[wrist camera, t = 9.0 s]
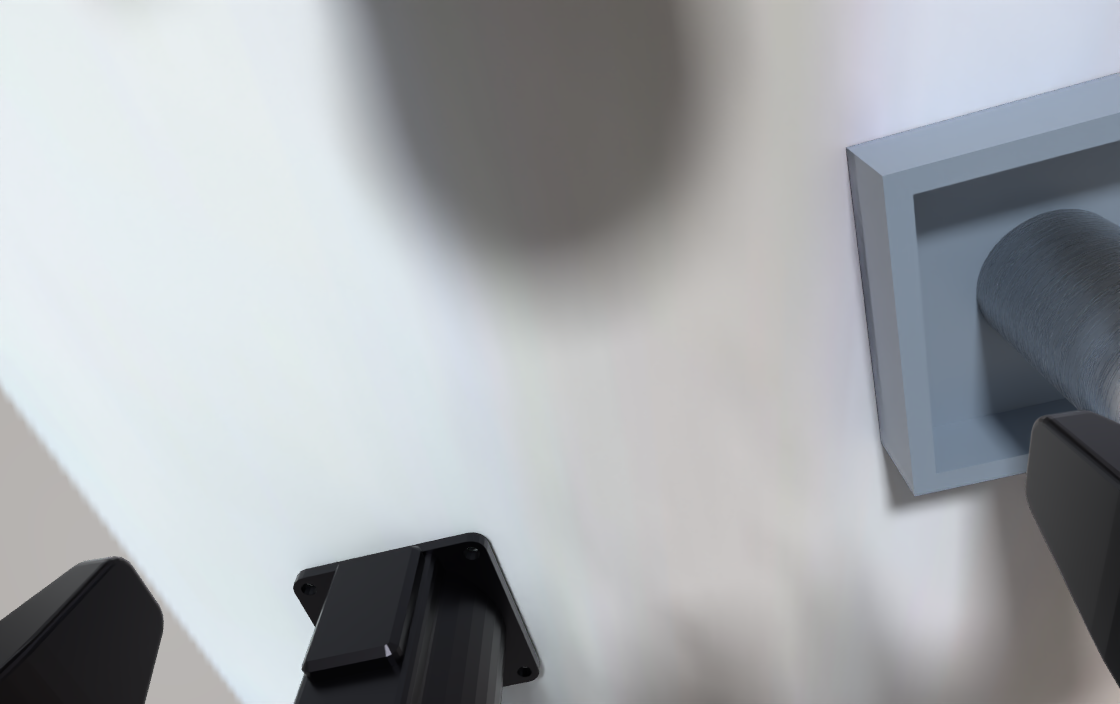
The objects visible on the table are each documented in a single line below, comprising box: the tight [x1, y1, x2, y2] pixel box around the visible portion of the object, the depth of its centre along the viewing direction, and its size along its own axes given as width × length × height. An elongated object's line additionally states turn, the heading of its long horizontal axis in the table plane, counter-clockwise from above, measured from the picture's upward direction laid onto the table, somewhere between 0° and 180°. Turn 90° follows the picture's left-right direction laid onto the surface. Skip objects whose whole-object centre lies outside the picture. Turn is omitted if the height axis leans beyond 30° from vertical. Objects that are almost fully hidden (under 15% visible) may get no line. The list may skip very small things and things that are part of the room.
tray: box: [846, 73, 1120, 496], centre depth 20 cm, size 9×9×2 cm
